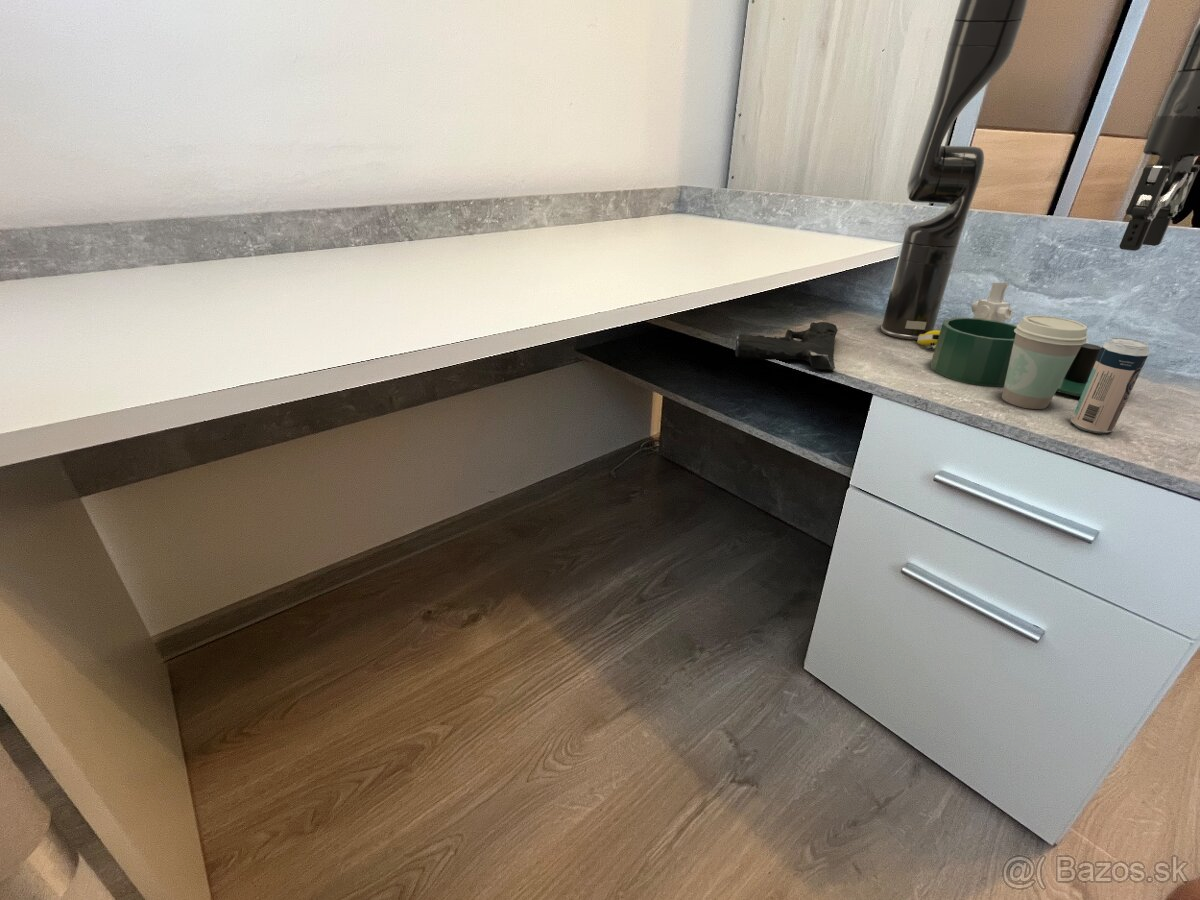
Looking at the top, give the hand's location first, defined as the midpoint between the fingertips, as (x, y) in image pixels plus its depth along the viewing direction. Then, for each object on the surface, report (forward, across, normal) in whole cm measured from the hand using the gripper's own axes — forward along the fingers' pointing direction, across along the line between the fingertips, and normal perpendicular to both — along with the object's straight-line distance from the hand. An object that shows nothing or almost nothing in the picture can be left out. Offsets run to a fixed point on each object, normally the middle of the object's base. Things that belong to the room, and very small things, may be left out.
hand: (1139, 247), depth 83 cm
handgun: (+20, -18, +31) cm, 41 cm away
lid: (+21, +2, +1) cm, 21 cm away
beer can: (+22, -14, -6) cm, 27 cm away
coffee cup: (+22, -12, +3) cm, 25 cm away
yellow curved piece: (+22, +3, +22) cm, 31 cm away
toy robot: (+22, +11, +20) cm, 31 cm away
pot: (+22, -6, +14) cm, 26 cm away
